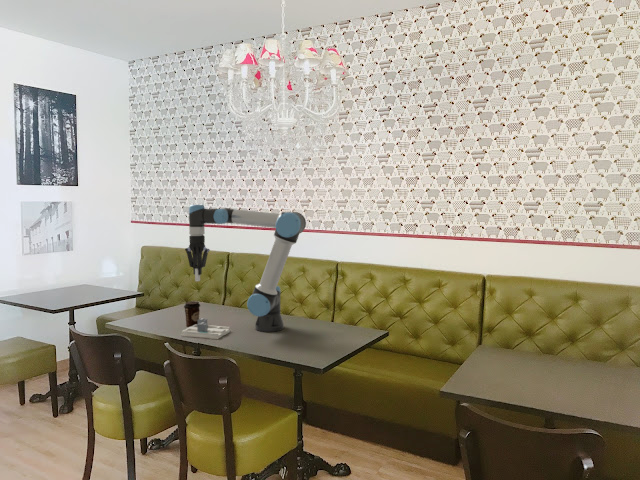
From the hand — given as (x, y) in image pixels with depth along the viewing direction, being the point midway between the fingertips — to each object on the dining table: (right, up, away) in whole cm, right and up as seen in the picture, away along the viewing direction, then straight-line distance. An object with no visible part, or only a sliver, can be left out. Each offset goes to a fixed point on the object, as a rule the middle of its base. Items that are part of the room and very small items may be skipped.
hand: (197, 280), depth 255 cm
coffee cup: (-6, -26, +12) cm, 29 cm away
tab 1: (+2, -25, +3) cm, 25 cm away
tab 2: (+4, -25, -6) cm, 27 cm away
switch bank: (+5, -27, -2) cm, 27 cm away
